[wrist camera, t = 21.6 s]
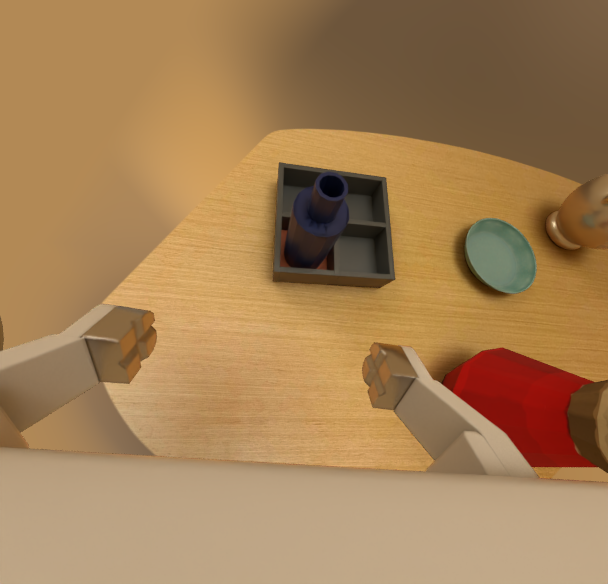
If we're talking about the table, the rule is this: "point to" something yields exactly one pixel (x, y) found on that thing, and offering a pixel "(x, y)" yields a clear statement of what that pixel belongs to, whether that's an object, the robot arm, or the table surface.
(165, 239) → the table surface
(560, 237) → the teapot
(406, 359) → the robot arm
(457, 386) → the bottle
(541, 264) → the table surface
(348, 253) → the tray
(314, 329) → the table surface
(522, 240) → the saucer
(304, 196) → the navy bottle
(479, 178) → the table surface
